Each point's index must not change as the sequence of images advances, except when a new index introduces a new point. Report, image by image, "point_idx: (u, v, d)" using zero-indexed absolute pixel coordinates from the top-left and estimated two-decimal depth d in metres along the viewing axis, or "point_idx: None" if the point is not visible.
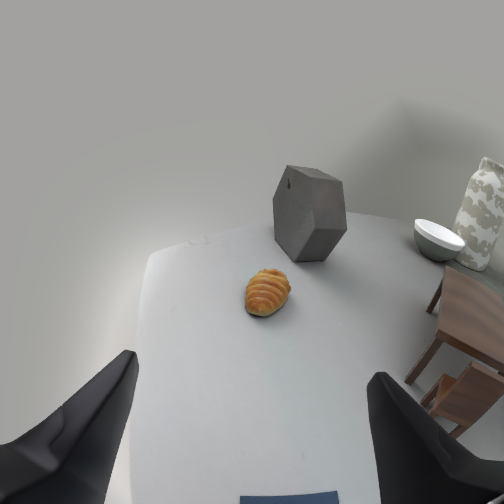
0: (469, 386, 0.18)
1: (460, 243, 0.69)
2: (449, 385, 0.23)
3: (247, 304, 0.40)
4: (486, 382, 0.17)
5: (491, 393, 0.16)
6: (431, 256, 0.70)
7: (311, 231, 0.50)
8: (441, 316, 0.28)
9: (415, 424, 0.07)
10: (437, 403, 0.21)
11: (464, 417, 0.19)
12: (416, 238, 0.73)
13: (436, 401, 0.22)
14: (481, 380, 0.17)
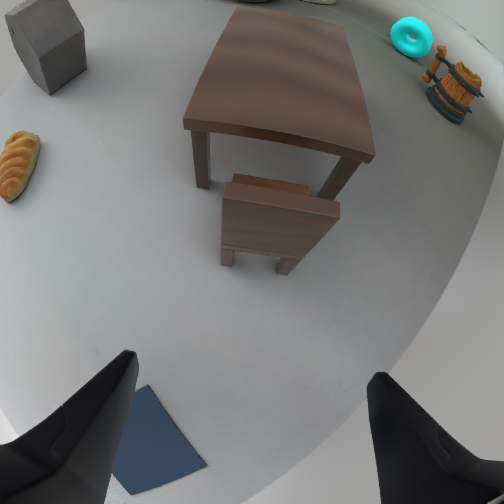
0: (247, 221, 0.16)
1: None
2: None
3: (1, 196, 0.23)
4: (277, 215, 0.14)
5: (303, 227, 0.15)
6: None
7: (38, 62, 0.21)
8: (195, 90, 0.18)
9: (415, 424, 0.07)
10: None
11: (280, 251, 0.19)
12: None
13: None
14: (263, 213, 0.14)
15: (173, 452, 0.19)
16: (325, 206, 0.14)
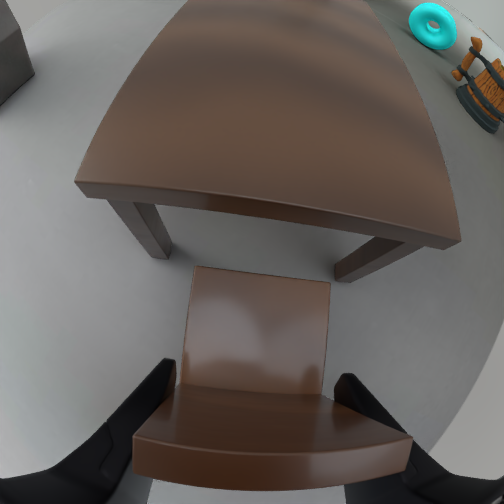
0: None
1: None
2: (217, 308, 0.11)
3: None
4: None
5: None
6: None
7: None
8: (110, 109, 0.08)
9: None
10: None
11: None
12: None
13: None
14: None
15: None
16: (382, 459, 0.04)
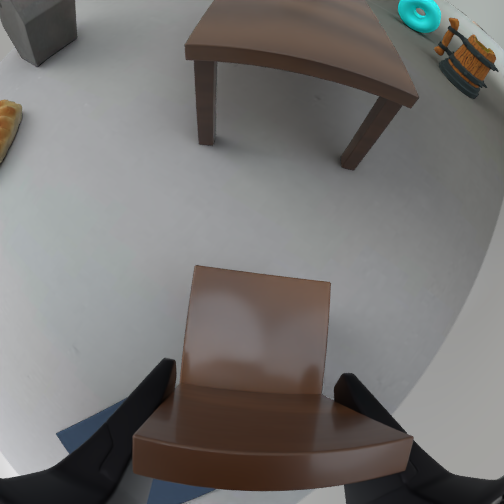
0: None
1: None
2: (217, 308, 0.11)
3: None
4: None
5: None
6: None
7: (24, 29, 0.15)
8: (200, 21, 0.13)
9: None
10: None
11: None
12: None
13: None
14: None
15: None
16: (382, 460, 0.04)
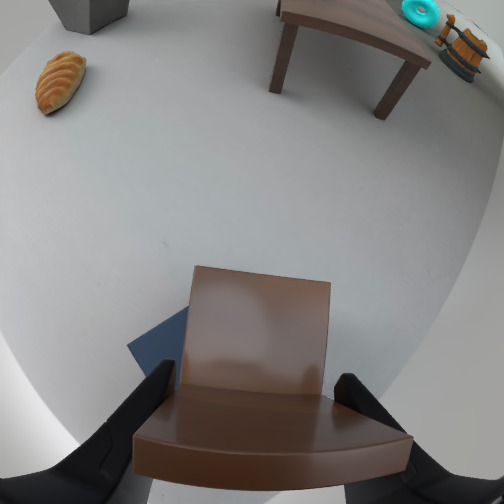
0: None
1: None
2: (217, 308, 0.11)
3: (39, 108, 0.21)
4: None
5: None
6: None
7: None
8: None
9: None
10: None
11: None
12: None
13: None
14: None
15: None
16: (383, 459, 0.04)
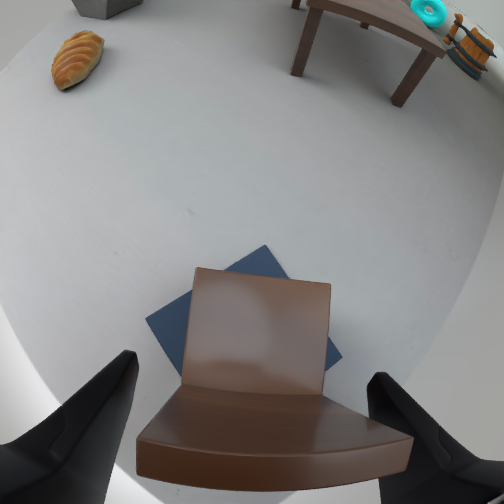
0: None
1: None
2: (218, 310, 0.11)
3: (56, 83, 0.20)
4: None
5: None
6: None
7: None
8: None
9: (415, 424, 0.07)
10: None
11: None
12: None
13: None
14: None
15: None
16: (383, 460, 0.04)
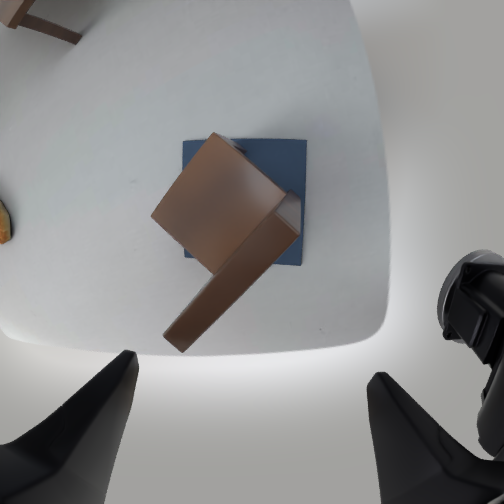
0: None
1: None
2: (181, 220, 0.15)
3: (4, 242, 0.25)
4: None
5: None
6: None
7: None
8: (1, 20, 0.08)
9: (415, 424, 0.07)
10: None
11: None
12: None
13: None
14: None
15: (268, 162, 0.19)
16: (266, 242, 0.08)
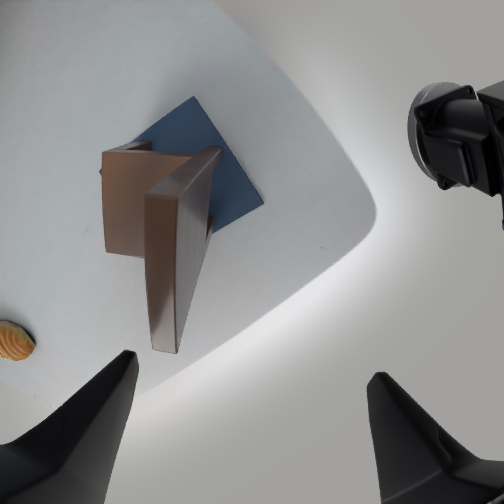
0: (187, 290, 0.11)
1: None
2: (129, 238, 0.15)
3: (32, 350, 0.27)
4: (180, 279, 0.09)
5: (188, 224, 0.09)
6: None
7: None
8: None
9: (415, 424, 0.07)
10: None
11: (206, 197, 0.13)
12: None
13: None
14: (181, 295, 0.10)
15: (175, 137, 0.17)
16: (158, 224, 0.07)
